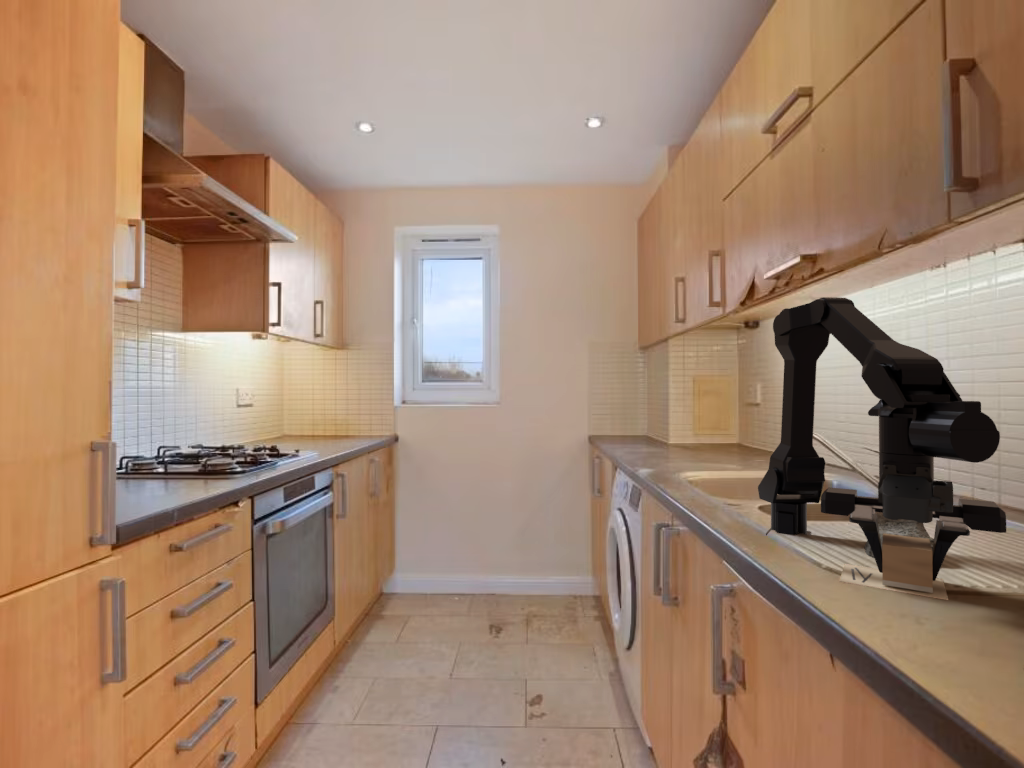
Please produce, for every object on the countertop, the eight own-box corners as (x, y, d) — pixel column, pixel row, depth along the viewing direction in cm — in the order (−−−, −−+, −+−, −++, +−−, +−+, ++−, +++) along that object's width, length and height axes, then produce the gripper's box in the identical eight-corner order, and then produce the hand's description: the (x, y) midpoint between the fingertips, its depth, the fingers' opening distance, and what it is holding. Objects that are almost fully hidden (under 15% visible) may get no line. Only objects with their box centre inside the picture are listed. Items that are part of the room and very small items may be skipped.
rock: (946, 577, 77) (945, 529, 77) (874, 571, 80) (872, 525, 80) (913, 552, 89) (912, 511, 90) (851, 547, 92) (850, 508, 92)
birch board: (844, 572, 79) (844, 563, 79) (942, 587, 73) (942, 578, 73) (839, 590, 71) (839, 581, 71) (948, 610, 65) (948, 599, 65)
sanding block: (883, 570, 75) (883, 533, 75) (929, 577, 72) (929, 538, 73) (882, 584, 69) (882, 544, 70) (932, 592, 67) (932, 550, 67)
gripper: (815, 453, 70) (816, 578, 70) (1014, 465, 59) (1015, 612, 59) (824, 447, 79) (825, 557, 79) (998, 456, 69) (999, 583, 68)
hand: (906, 575), depth 71 cm, fingers closed on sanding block, 5 cm apart
